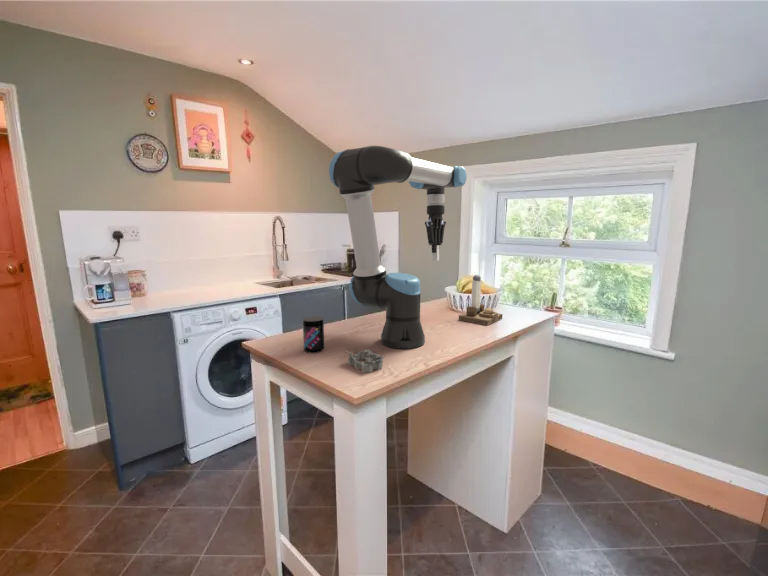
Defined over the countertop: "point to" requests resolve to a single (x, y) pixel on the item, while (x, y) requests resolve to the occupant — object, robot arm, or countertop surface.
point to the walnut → (488, 311)
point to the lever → (476, 292)
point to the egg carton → (365, 360)
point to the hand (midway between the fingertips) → (435, 260)
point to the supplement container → (313, 334)
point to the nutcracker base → (479, 316)
